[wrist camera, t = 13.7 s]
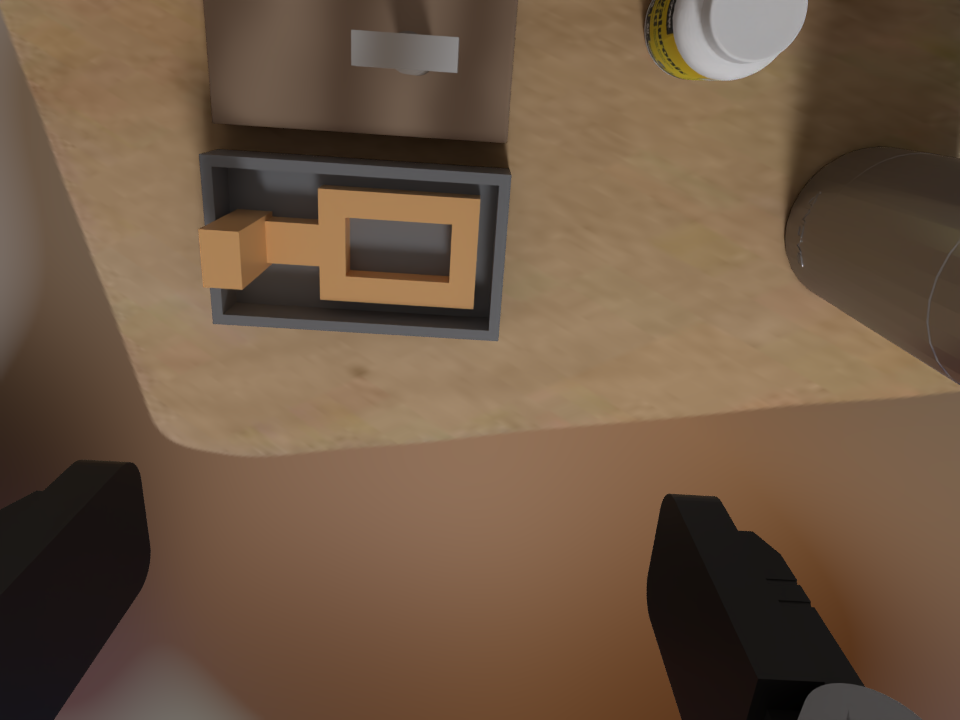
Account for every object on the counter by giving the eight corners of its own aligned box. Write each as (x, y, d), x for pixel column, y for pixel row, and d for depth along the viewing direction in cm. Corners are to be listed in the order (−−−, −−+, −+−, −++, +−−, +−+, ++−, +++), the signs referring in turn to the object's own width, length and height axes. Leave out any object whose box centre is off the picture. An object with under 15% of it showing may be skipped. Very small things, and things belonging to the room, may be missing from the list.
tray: (509, 168, 40) (511, 174, 37) (496, 324, 43) (498, 341, 40) (218, 149, 39) (198, 154, 37) (230, 308, 43) (213, 323, 40)
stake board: (518, -19, 36) (528, -47, 28) (506, 141, 39) (512, 155, 31) (210, -41, 36) (136, -76, 28) (222, 121, 39) (157, 131, 31)
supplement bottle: (634, -17, 36) (686, -51, 27) (738, -43, 36) (826, -86, 27) (648, 91, 38) (701, 93, 29) (746, 67, 38) (831, 62, 29)
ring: (480, 195, 40) (480, 213, 34) (473, 301, 42) (472, 335, 37) (235, 178, 39) (195, 194, 34) (242, 287, 42) (205, 318, 36)
